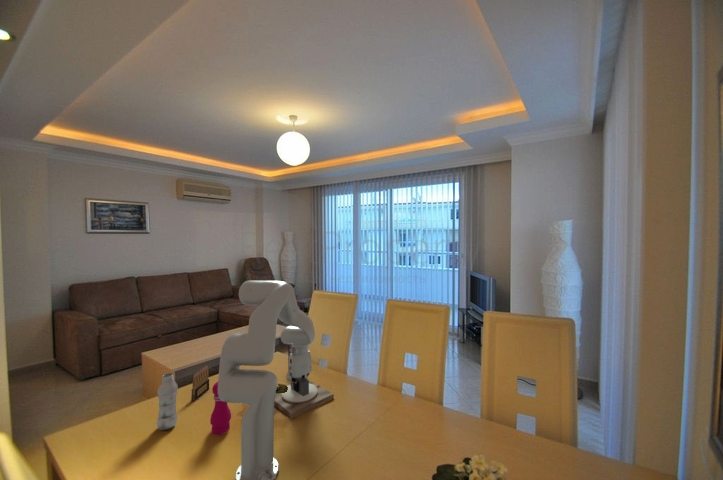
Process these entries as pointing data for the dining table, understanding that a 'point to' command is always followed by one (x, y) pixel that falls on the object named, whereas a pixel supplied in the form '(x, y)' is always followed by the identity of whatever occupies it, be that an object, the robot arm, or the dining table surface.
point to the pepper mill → (220, 414)
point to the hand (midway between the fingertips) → (299, 389)
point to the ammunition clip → (200, 384)
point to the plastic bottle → (167, 403)
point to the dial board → (302, 407)
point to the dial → (300, 391)
